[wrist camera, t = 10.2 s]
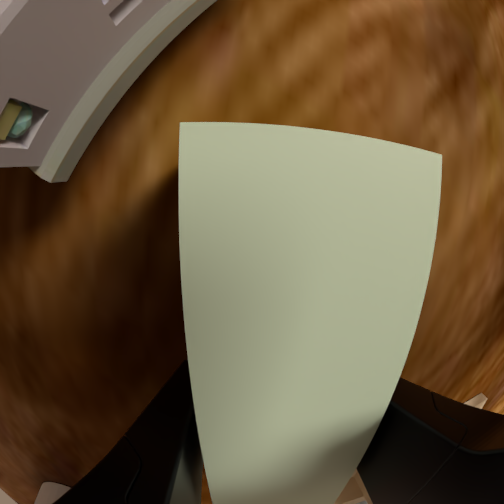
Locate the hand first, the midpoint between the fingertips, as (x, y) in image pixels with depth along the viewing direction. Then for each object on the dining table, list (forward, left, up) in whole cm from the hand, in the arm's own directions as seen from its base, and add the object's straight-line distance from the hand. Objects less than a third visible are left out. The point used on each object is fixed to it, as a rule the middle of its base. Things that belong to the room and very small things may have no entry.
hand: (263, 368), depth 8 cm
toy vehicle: (+10, -14, -1) cm, 17 cm away
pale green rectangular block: (0, 0, -1) cm, 1 cm away
